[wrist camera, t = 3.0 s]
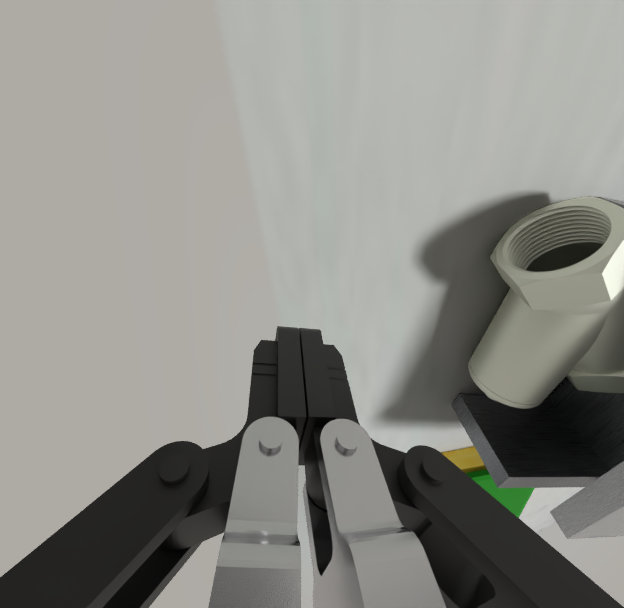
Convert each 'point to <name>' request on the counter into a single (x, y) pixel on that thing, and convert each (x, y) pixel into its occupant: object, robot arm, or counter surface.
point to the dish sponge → (489, 479)
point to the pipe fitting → (557, 305)
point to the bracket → (557, 451)
